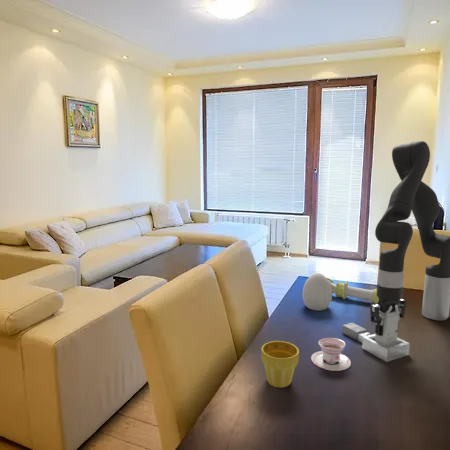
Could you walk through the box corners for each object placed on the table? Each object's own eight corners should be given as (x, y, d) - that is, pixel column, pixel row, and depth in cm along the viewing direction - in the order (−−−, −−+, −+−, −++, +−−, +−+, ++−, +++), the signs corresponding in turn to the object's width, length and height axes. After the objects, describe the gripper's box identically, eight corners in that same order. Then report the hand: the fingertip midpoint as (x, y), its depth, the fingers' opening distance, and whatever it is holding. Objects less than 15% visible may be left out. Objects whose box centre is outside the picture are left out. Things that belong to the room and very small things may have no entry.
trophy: (383, 285, 170) (316, 274, 185) (380, 290, 163) (311, 278, 179) (381, 303, 171) (315, 291, 186) (378, 308, 165) (310, 295, 180)
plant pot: (289, 396, 102) (290, 362, 100) (254, 384, 107) (254, 351, 106) (303, 378, 110) (304, 346, 109) (270, 368, 116) (271, 337, 114)
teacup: (328, 375, 112) (329, 355, 111) (303, 357, 123) (303, 338, 122) (359, 366, 117) (360, 347, 116) (332, 349, 128) (333, 331, 127)
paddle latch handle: (357, 328, 143) (357, 318, 143) (408, 354, 124) (409, 343, 123) (336, 334, 139) (337, 323, 138) (386, 362, 119) (387, 349, 119)
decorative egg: (335, 305, 167) (336, 272, 164) (326, 314, 157) (327, 279, 154) (308, 300, 173) (309, 267, 171) (297, 308, 163) (298, 274, 161)
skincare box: (386, 351, 122) (388, 315, 120) (373, 346, 126) (376, 310, 124) (397, 346, 126) (400, 311, 124) (385, 341, 129) (387, 306, 127)
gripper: (395, 277, 129) (392, 324, 132) (364, 283, 123) (361, 332, 125) (415, 283, 122) (411, 333, 125) (383, 290, 116) (380, 342, 119)
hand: (386, 332), depth 125 cm, fingers closed on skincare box, 6 cm apart
